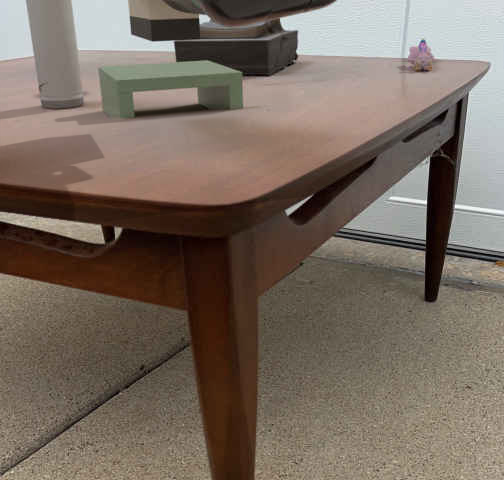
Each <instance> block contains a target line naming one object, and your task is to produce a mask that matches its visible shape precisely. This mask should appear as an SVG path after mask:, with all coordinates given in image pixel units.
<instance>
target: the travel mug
mask: <svg viewBox="0 0 504 480" xmlns="http://www.w3.org/2000/svg"><path fill="white" fill-rule="evenodd" d="M25 3H26V9H27V10H26V11H27V18H28V24H29V30H30V38H31V45H32V53H33V58H34V59H33V60H34V64H35V71H36V78H37V86H38V91H39V95H40V97H39V99H40V105H41V107H42V108H44V109H51V110H53V109H54V110H63V109H64V110H65V109H73V108H78V107H81V106H83V105H84V103H85V99H84V94H83V92H84V91H83V84H82V83H83V82H82V75H81V74H82V73H81V67H80V59H79V51H78V43H77V34H76V27H75V19H74V9H73V2H72V0H25Z"/></svg>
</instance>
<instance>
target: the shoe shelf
mask: <svg viewBox="0 0 504 480" xmlns="http://www.w3.org/2000/svg"><path fill="white" fill-rule="evenodd" d="M97 71H98V78H99V87H100V96H101V105H102V111H103V113H105V114H106V115H107V117H108V118H110V119H116V118H119V119H129V118H135V117H136V116H135V106H134V105H135V104H134V95H133V93H139V92H141V93H142V92H152V91H154V92H155V91H168V90H180V89H195V88H196V89H197V103H198V104H199V105H201V106H203V107H204V108H207V109H208V110H210V111H212V110H213V111H214V110H226V109H228V110H237V109H239V110H240V109H243V108H244V92H243V91H244V90H243V88H244V87H243V75H242V72H240V71H237V70H234V69H231V68H228V67H225V66H222V65H219V64H217V63H214V62H211V61H208V60H205V61H189V62H176V61H175V62H174V61H173V62H159V63H156V62H155V63H140V64H125V65H124V64H123V65H108V66H107V65H105V66H98V69H97Z"/></svg>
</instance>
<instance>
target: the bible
mask: <svg viewBox="0 0 504 480" xmlns="http://www.w3.org/2000/svg"><path fill="white" fill-rule="evenodd" d="M298 37H299V30H298V29H296V30H295V29H293V30H287V29H284V27H283V26H282V23H281V18H278V19H273V20H269V21H263V22H260V23H255V24H251V25H247V26H241V27H224V26H221V25H219V24H217V23H215V22H214V21H213V20H212V19H210V18H209V21H204V22H201V23H200V39H198V40H176V41H173V45H174V53H175V54H174V56H175V62H189V61H205V60H208V61H211V62H214V63H217V64H219V65H222V66H225V67H228V68H231V69H234V70H237V71H240V72H242V76H245V75H246V76H247V75H249V76H250V75H251V76H256V75H257V76H259V75H260V76H272V75H273V74H275V73H277V72H279V71H281V70H283V69H285V68H286V67H287V66H289V65H288V64H291V63H293V62H294V61H293V60H296V61H298V59H299V54H298V53H297V50H298V47H299V38H298ZM293 64H294V63H293ZM291 65H292V64H291ZM285 66H286V67H285ZM284 67H285V68H284ZM282 68H283V69H282ZM280 69H281V70H280ZM278 70H279V71H278ZM276 71H277V72H276Z"/></svg>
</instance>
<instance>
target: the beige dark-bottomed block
mask: <svg viewBox="0 0 504 480" xmlns="http://www.w3.org/2000/svg"><path fill="white" fill-rule="evenodd" d="M127 2H128V13H129V15H128V16H129V26H130V34H131V36H134V37H136V38H137V37H138V38H140V39H142V40H146V41H150V42H154V43H155V42H170V41H171V42H174V41H178V40H198V39H200V24H201V23H200V14H192V13H185V12H181V11H178V10H175V9H173V8H172V7H170V6H169V5H167V4H166V3H165V2H164V1H163V0H127Z"/></svg>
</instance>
